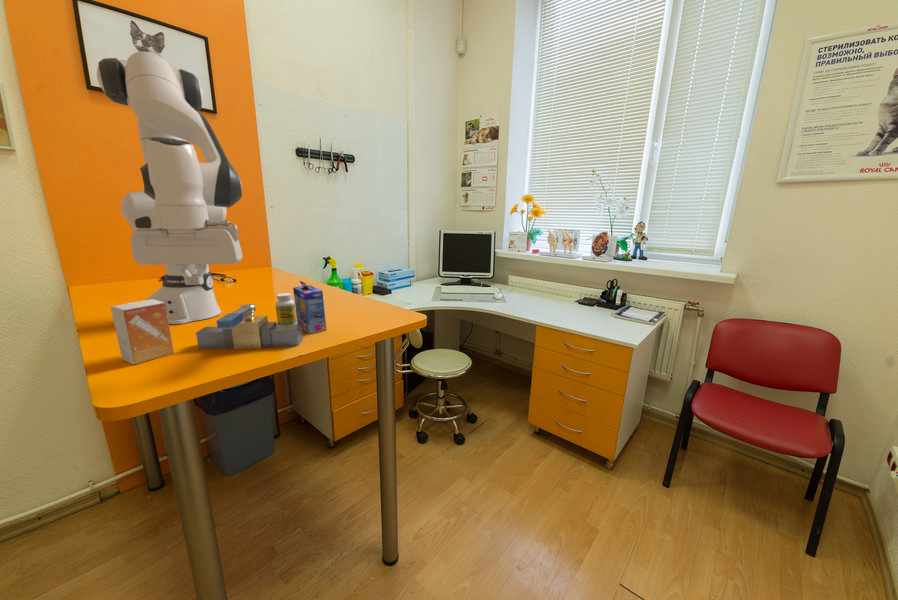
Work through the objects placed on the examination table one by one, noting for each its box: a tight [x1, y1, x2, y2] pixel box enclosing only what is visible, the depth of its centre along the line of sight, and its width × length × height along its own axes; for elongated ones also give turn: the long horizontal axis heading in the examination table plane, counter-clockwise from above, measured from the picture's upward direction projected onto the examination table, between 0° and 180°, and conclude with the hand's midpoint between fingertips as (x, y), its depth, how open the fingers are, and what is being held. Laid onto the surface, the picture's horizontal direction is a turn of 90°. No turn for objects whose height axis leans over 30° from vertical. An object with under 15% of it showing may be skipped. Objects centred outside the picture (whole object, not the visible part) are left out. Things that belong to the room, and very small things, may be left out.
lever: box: [215, 303, 257, 329], centre depth 85 cm, size 15×3×2 cm, turn 8°
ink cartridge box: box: [292, 280, 328, 334], centre depth 104 cm, size 10×6×14 cm, turn 43°
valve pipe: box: [195, 312, 304, 350], centre depth 92 cm, size 24×6×9 cm, turn 98°
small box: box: [110, 299, 175, 366], centre depth 83 cm, size 8×6×13 cm
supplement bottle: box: [274, 292, 297, 325], centre depth 107 cm, size 5×5×10 cm
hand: (194, 284), depth 78 cm, fingers closed
